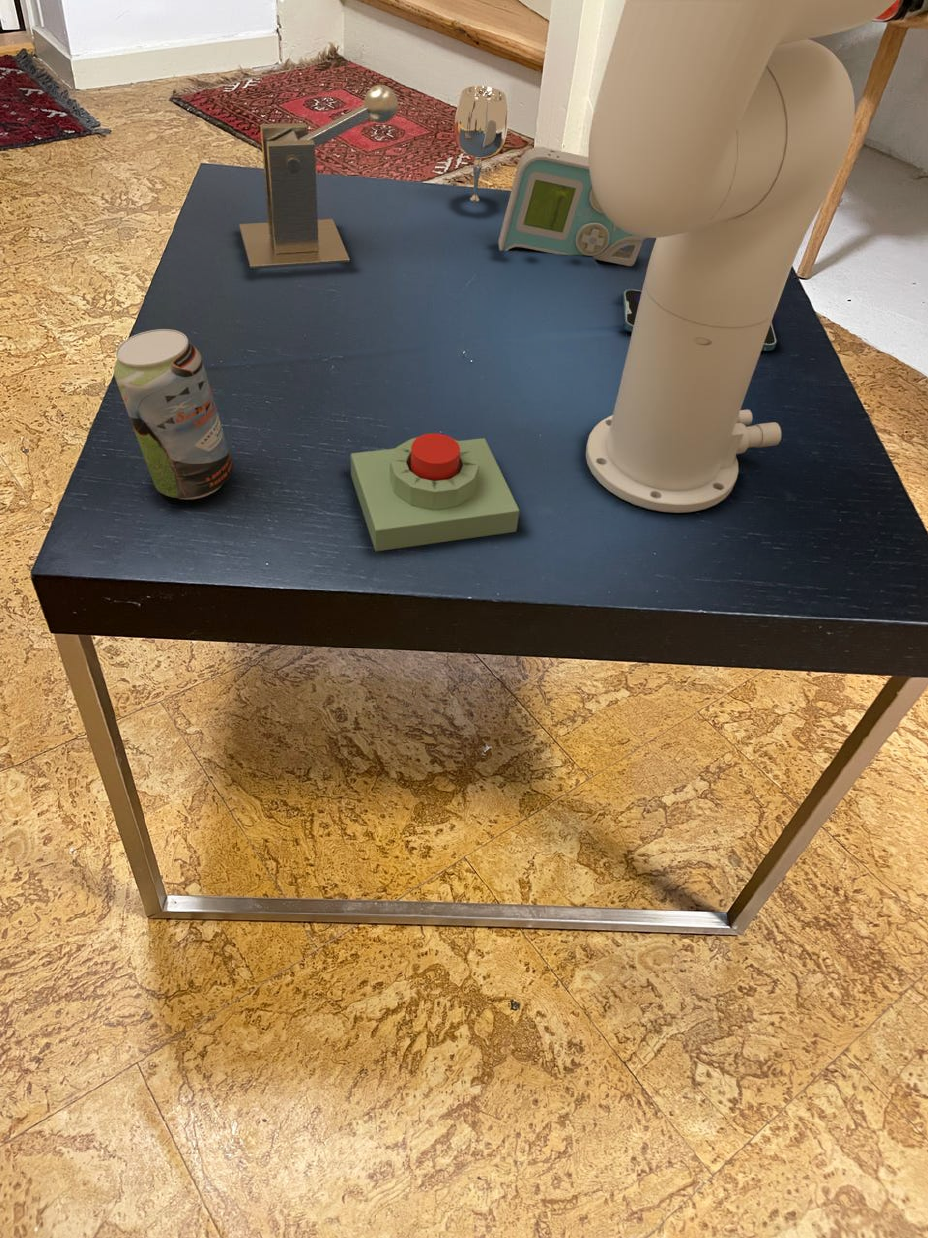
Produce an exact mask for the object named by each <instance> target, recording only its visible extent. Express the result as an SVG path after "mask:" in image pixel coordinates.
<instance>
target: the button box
mask: <svg viewBox="0 0 928 1238" xmlns="http://www.w3.org/2000/svg"><path fill="white" fill-rule="evenodd" d="M418 437H419V436H417V437H412V438H409V439H408V440H407V441H405V442H403V443H401V444H399V445H397V446H396V447H395V448H388V449H387V448H386V449H377V450H370V451H369V450H368V451H361V452H352V453H350V476H351V480H352V483H353V486H354V489H355V492H356V495H357V499H358V502H359V504H360V507H361V511H362V515H363V517H364V520H365V523H366V527H367V529H368V532H369V537H370V539H371V542H372V545H373V548H374V551H375V552H382V551H390V550H397V549H404V548H410V547H418V546H424V545H425V546H426V545H432V544H438V543H444V542H445V543H446V542H452V541H459V540H467V539H473V538H481V537H488V536H489V537H490V536H495V535H503V534H509V533H515V532H517V530H518V523H519V518H520V509H519V507H518V504H517V502H516V500H515V498H514V496H513V494H512V492H511V490H510V488H509V485H508V484H507V481H506V479H505V476H503V473H502V471H501V469H500V467H499V464H498V462H497V460H496V459H495V456H494V454H493V452H492V450H491V448H490V446H489V444H488V442H487V440H486V438H485V437H481V438H474V439H465V440H457V439H454V440H455V441H456V442H457V443H458V445H459V447H460V456H459V467H458V472H457V473H456V475H455V476H454V477H452V478H451V479H447V480H439V481H432V480H427V479H422V478H419V477H418V476H416V475H415V474H414V473H413V471H412V469H411V446H412V443H413V441H414V440H415V439H416V438H418Z"/></svg>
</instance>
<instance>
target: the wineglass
mask: <svg viewBox="0 0 928 1238" xmlns="http://www.w3.org/2000/svg"><path fill="white" fill-rule="evenodd" d="M507 105H508V104H507V97H506V94H505V93H504V92H503V91H502V90H500V89H498V88H496V87H490V86H484V85H475V86H474V85H473V86H468V87H466V88H463V90H462V91H461V94H460V97H459V100H458V104H457V107H456V112H455V117H454V125H453V133H454V140H455V143H456V146H458V148H459V149H460V150H461V152H463V153H464V154H466V155H467V156H469V157H471V158H475V159H474V161H473V164H472V168H473V169H472V170H473V177H474V178H473V188H472V189H473V190H472V195H471V196H470V197H469V200H470V201H472V202H479V201H480V198H479V195H478V188H479V179H480V176H481V172H482V169H483V162H482V160H481V159H487V158H490V157H493V156H494V155H497V154H498V153H499V152H500V151H501V150H502V149H503V147H504V145H505V143H506V139H507V134H508V127H509V121H508V120H509V119H508V117H509V116H508V106H507Z"/></svg>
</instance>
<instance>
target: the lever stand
mask: <svg viewBox="0 0 928 1238" xmlns="http://www.w3.org/2000/svg"><path fill="white" fill-rule="evenodd" d="M259 127H260V138H261V151H262V152H261V153H262V166H263V179H264V191H265V203H266V204H265V205H266V217H267V222H254V223H253V222H252V223H250V222H249V223H239V224H238V228H239V231H240V235H241V239H242V242H243V247H244V251H245V254H246V257H247V261H248V264H249V268H250V269H251V270H252V269H253V270H256V269H270V268H271V269H272V268H284V267H300V266H315V265H331V264H347V263H348V264H349V263H351V259H350V257H349V254H348V252H347V250H346V248H345V245H344V243H343V240H342V237H341V234H340V232H339V230H338V228H337V225H336V223H335V220H334V219H333V218H326V219H325V218H324V219H319V217H318V216H319V215H318V194H317V193H318V192H317V189H318V187H317V163H316V147H315V143H314V141H313V140H292V141H275V140H277V139H279V138H281V137H282V136H284V135H286V134H288V133H290V132H292V131H294V132H295V134H296V136H297V138H298V139H300V138H302V137H304V136H306V135H308V134H309V131H308V130H309V129H308V128H309V127H308V125H307V122H290V123H289V122H288V123H287V122H286V123H285V122H284V123H260V126H259Z"/></svg>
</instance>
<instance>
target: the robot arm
mask: <svg viewBox="0 0 928 1238" xmlns="http://www.w3.org/2000/svg"><path fill="white" fill-rule="evenodd" d="M896 2H897V0H625V2H624V4H623V5H624V6H623V9H622V12H621V15H620V19H619V22H618V26H617V28H616V33H615V35H614V39H613V43H612V46H611V50H610V53H609V57H608V60H607V63H606V66H605V70H604V73H603V76H602V80H601V83H600V87H599V90H598V94H597V98H596V102H595V105H594V108H593V109H594V110H593V115H592V119H591V124H590V129H589V138H588V157H589V172H590V178H591V184H592V188H593V191H594V194H595V197H596V199H597V201H598V203H599V205H600V207H601V209H602V211H603V212H604V214H605V215H606V216H607V218H608V219H609V220H610V221H611V222H612V223H613V224H615V225H616V226H617V227H619V228H620V229H621V230H623V231H625V232H627V233H630V234H632V235H636V236H640V237H646V238H645V239H655V242H654V244H653V247H652V251H651V253H650V257H649V260H648V264H647V268H646V271H645V272H646V273H645V277H644V281H643V285H642V288H641V291H642V293H641V297H640V301H639V305H638V310H637V314H636V318H635V323H634V327H633V331H632V332H631V337H630V340H629V344H628V349H627V353H626V356H625V360H624V361H625V362H624V366H623V370H622V374H621V379H620V383H619V388H618V391H617V395H616V400H615V404H614V408H613V413H612V415H609V416H607V417H606V418H603V419H602V420H601V421H599V422H598V423H597V424H596V425H595V426H594V427H593V429H592V430H591V431H590V433H589V435H588V438H587V441H586V447H585V448H586V449H585V460H586V464H587V466H588V468H589V470H590V472H591V474H592V475H593V477H594V478H595V479H596V481H597V482H598V483H599V484H600V485H601V486H603V487H604V488H605V489H606V490H607V491H608V492H610V493H612V494H613V495H615V496H616V497H618V498H619V499H621V500H622V501H623V500H624V501H625V502H628V503H629V504H632V505H634V506H637V507H639V508H644V509H647V510H651V511H657V512H662V513H673V514H675V513H676V514H680V513H694V512H698V511H702V510H707V509H709V508H712V507H714V506H716V505H718V504H720V503H721V502H723V501H724V500H726V498H727V497H728V496H729V495H730V494H731V492H733V488H734V487H735V484H736V482H737V479H738V475H739V471H740V469H739V461H738V459H737V455H740V454H743V453H746V452H747V450H748V449H749V448H757V449H758V448H767V447H773V446H778V445H779V444H780V442H781V440H782V430H781V429H782V428H781V426H780V424H779V423H778V422H775V421H774V422H773V421H772V422H765V423H757V424H754V425H752V423H753V418H754V417H753V413H752V411H751V410H750V409H748V408H747V409H742V407H743V403H744V401H745V398H746V395H747V392H748V390H749V386H750V384H751V381H752V378H753V375H754V372H755V370H756V367H757V364H758V361H759V358H760V356H761V352H762V351H763V350H762V347H763V344H764V341H765V339H766V336H767V333H768V330H769V327H770V324H771V321H772V322H773V318H774V315H775V313H776V311H777V309H778V306H779V302H780V300H781V297H782V294H783V291H784V289H785V286H786V283H787V280H788V278H789V275H790V272H791V269H792V267H793V264H794V262H795V260H796V257H797V255H798V253H799V250H800V248H801V246H802V243H803V242H804V239H805V237H806V235H807V233H808V230H809V229H810V227H811V225H812V223H813V221H814V219H815V217H816V215H817V213H818V212H819V210H820V208H821V206H822V204H823V202H824V201H825V199H826V197H827V195H828V194H829V191H830V190H831V188H832V186H833V184H834V182H835V180H836V178H837V176H838V174H839V172H840V170H841V167H842V165H843V163H844V161H845V159H846V155H847V152H848V150H849V146H850V143H851V140H852V136H853V131H854V126H855V115H856V114H855V113H856V107H855V105H856V104H855V103H856V102H855V93H854V89H853V85H852V81H851V79H850V76H849V74H848V72H847V70H846V67H845V66H844V65H843V63H842V61H841V60H840V59H839V58H838V57H837V56H836V55H835V54H834V52H832V51H831V50H830V49H828V47H826V46H824V45H822V44H820V43H818V42H816V41H814V40H812V39H815V38H820V37H825V36H829V35H833V34H839V33H842V32H845V31H848V30H852V29H855V28H858V27H860V26H863V25H865V24H868V23H869V22H872V21H873V20H875V19H876V18H878V17H880V16H881V15H883V14H884V13H885V12H886V11H887V10H889V8H890V7H891V6H893V5H894V4H895V3H896Z"/></svg>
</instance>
